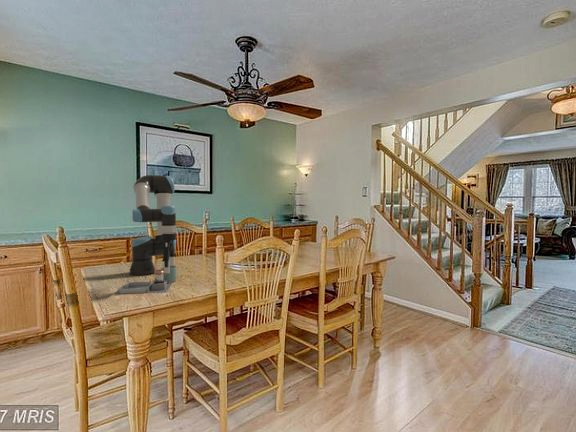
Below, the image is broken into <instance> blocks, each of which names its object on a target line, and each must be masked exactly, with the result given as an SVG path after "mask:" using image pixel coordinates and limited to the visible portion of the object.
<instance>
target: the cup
mask: <svg viewBox="0 0 576 432" xmlns="http://www.w3.org/2000/svg"><path fill="white" fill-rule="evenodd" d="M169 268H170V273H163V281H167V284H174V283H176V282H177V280H178V277H177V276H178V268H177V265H174V266H172V265H170V266H169ZM161 270H164V266H162V267H161Z"/></svg>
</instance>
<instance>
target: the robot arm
mask: <svg viewBox="0 0 576 432" xmlns="http://www.w3.org/2000/svg"><path fill="white" fill-rule="evenodd" d="M133 191H134V193H135V208H134V209H132V222H133V223H156V230H157V233H156V234H155V236H154V238H152V237H153V236H151V235H147V236H141V237H140V236H139V237H136V238H133V240H132V242H131V252H132V253H131V260H132V261H131V264H130V268H129V275H132V276H145V275H151V274H154V271H156V267H155V264H154V262H153V257H157V256H158V257H159V256H161V257H162V256H163V257H162V260H161V261H162V262H163V267H164V273H170V268H169V266H170V265H172V266H175V258H176V256H177V255H176V252H175V251H176V247H177V245H176V244H177V233H176V232H177V229H178V227H177V226H176V218H177V216H176V214H177V210H176V206H175V205H171V197H172V196H173V194H174V193H175V183H174V179H173V177H172V176H170V175H157V174H155V175H154V174H149V175H148V174H147V175H144V176H141V177H139V178H138V179H137V180H136V181H135V182H134V185H133ZM151 193H153V196H154V197H155V198H156V208H151V206H150V204H151V203H150V194H151Z"/></svg>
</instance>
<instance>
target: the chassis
mask: <svg viewBox="0 0 576 432" xmlns="http://www.w3.org/2000/svg"><path fill="white" fill-rule="evenodd" d="M172 285H173V283H167V281H163V283H155V280H154V281H128V282H126V283H124V284H123V285H122V286H121V287H119V288H118V289H117V295H130V294H131V295H134V294H135V295H136V294H137V295H138V294H162V293H163V294H164V293H167V292H168V291H169V289H170V288H171V287H172Z"/></svg>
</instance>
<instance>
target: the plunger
mask: <svg viewBox="0 0 576 432" xmlns="http://www.w3.org/2000/svg"><path fill="white" fill-rule="evenodd" d="M163 273H164V270H162V269H158V270H157V269H155V271H154V273H153V274H154V281H155V283H163Z"/></svg>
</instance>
